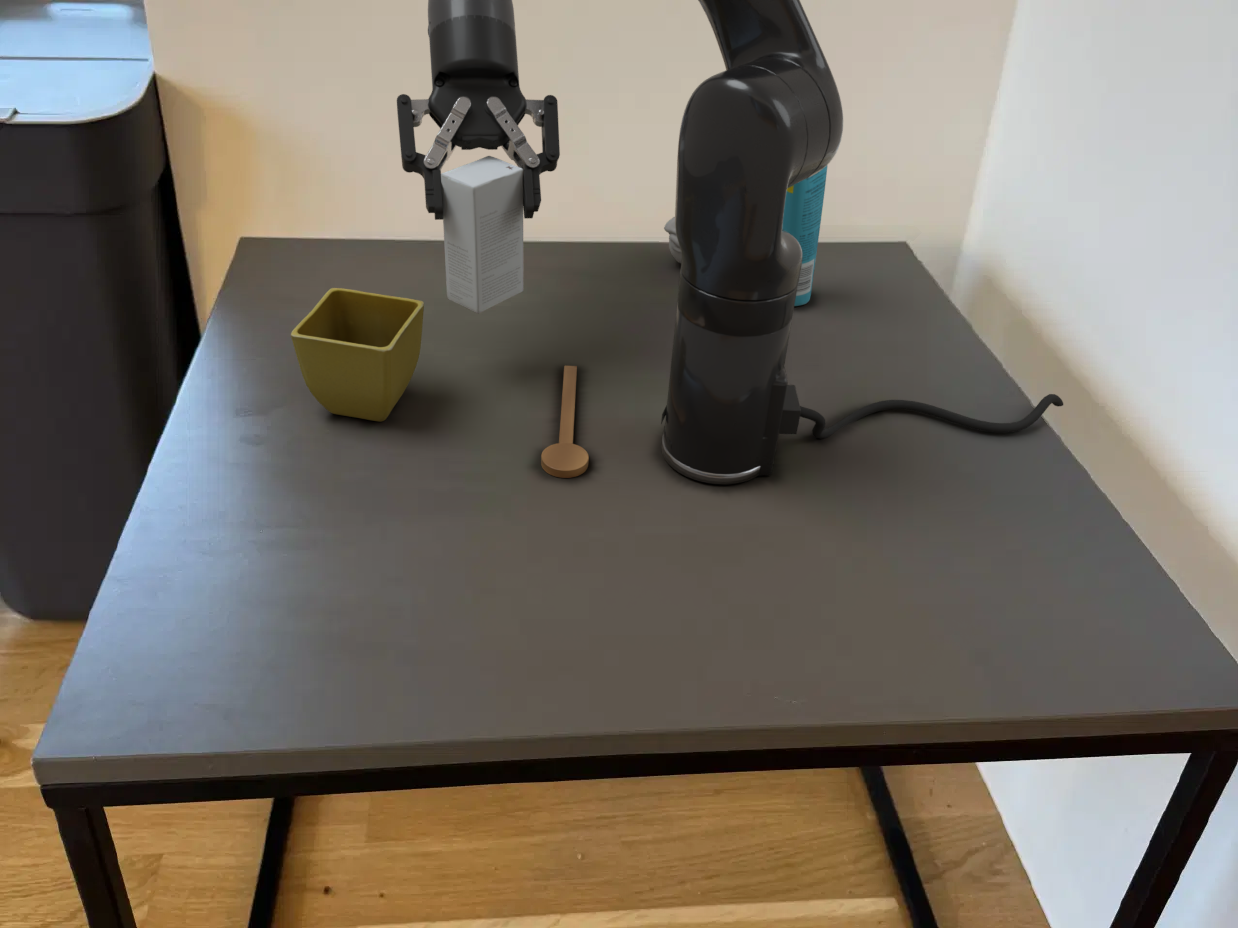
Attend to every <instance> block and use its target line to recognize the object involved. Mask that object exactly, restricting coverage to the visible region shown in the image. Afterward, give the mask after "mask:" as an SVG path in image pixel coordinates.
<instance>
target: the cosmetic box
mask: <svg viewBox="0 0 1238 928" xmlns="http://www.w3.org/2000/svg"><path fill="white" fill-rule="evenodd" d="M441 183H442V198H443V220H442V223H443V225H442V226H443V244H444V245H443V246H444V264H445V266H444V267H445V282H446V283H445V284H446V299H448V300H449V301H451V302H453V303H455V304H457V305H459V306H462V307H463V308H466V309H468V310H469V311H471V312H473V313H476V314H478V315H479V314H481V313H483V312H485V311H486V310H489V309H490V308H491V309H492V308H493V307H495V306H497V305H499V304H501V303H504V302H505V301H507V300H509V299H512V298H513V297H515V296H517V295H519V294H521V293H523V292H524V279H525V278H524V209H523V169H522V168H520V167H518V166H517V165H516V164H513V163H509V162H507V161H506V160H502V159H500V158H498V157H495V156H491V155H486V156H485V157H482V158H479V159H477V160H474V161H471V162H469V163H466V164H463V165H461V166H460V165H459V166H458V167H455V168H452V169H450V170H447V171H445V172H441Z"/></svg>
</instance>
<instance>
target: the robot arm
mask: <svg viewBox="0 0 1238 928" xmlns="http://www.w3.org/2000/svg"><path fill="white" fill-rule="evenodd" d="M697 1H698V2H699V5H700V6H701V8H702V11H703V12H704V14H705V15H706V18H707V21H708V23H709V25H710V28H711V30H712V32H713V35H714V38H715V40H716V43H717V46H718V49H719V51H720V54H721V57H722V60H723V64H724V67H725V70H724V71H721V72H719V73H716V74H713V75H711V76H709V77H708V78H706V79H704V80H703V81H702V82H701V83H700V84H699V85H698V86H696V88H695V89H694V91H692V93H691V95H690V97H689V99H688V101H687V103H686V105H685V108H684V111H683V115H682V118H681V122H680V127H679V134H678V142H677V143H678V144H677V155H676V157H677V158H676V159H677V160H676V177H675V178H676V180H675V181H676V182H675V206H674V217H675V228H676V235H677V239H678V242H679V245H680V249H681V252H682V261H681V263H680V272H679V281H678V291H677V301H676V302H677V303H676V310H675V320H674V321H675V322H674V331H673V341H672V349H671V350H672V351H671V359H670V371H669V381H668V390H667V401H666V405H665V407H664V409H663V411H662V414H661V423H660V425H663V422H664V426H663V433H662V438H661V453H662V456H663V458H664V460H665V461H666V463H667V464H668V465H669V466H670V467H671V469H674V471H676V472H677V473H679V474H681V475H683V476H684V477H687V478H689V479H691V480H695V481H698V482H701V483H706V484H713V485H735V484H740V483H744V482H748V481H751V480H753V479H755V478H757V477H758V476H771V475H772V474H773V468H774V461H775V457H776V450H777V446H778V439H779V435H798V429H799V424H800V419H801V418H804V419H806V420H810V421H812V422H814V425H813V427H812V431H811V434H812V437H814V438H816V439H820V440H824V439H826V438H828V437H830V436H831V435H833V434H834V433H835V432H837V431H838V430H839V429H841V428H844V427H845V426H847V425H850V424H852V423H854V422H856V421H859V420H861V419H864V418H865V417H866V416H869V415H871V414H874V413H877V412H881V411H886V410H905V411H911V412H918V413H922V414H924V415H925V414H926V415H929V416H933V417H934V418H939V419H942V420H944V421H947V422H950V423H953V424H957V425H959V426H963V427H965V428H970V429H974V430H977V431H982V432H989V433H997V434H1008V433H1009V434H1010V433H1015V432H1021V431H1022V430H1025V429H1027V428H1028V427H1030V426H1031V425H1033V424H1034V423H1036V422H1037V421H1038V420H1039V419H1040V418H1041V417H1042V415H1043V414H1044V413H1045V412H1046V410H1047V409H1048V408H1049V407H1050V406H1051V404H1052V405H1053V406H1055V407H1063V406H1064V401H1063V399H1062V397H1060V396H1059V395H1058V394H1055V393H1048V394H1047V395H1045V396H1044V397H1043V398H1041V400H1040V401H1039V402H1038V403H1037V405H1036V406H1035V407H1034V408H1033V410H1032V411H1030V413H1028V414H1027V415H1026V416H1025V417H1024V418H1022V419H1020V420H1018V421H1013V422H991V421H985V420H980V419H976V418H972V417H969V416H966V415H964V414H963V415H962V414H959V413H956V412H953V411H951V410H947V409H945V408H941V407H938V406H935V405H933V404H928V403H924V402H919V401H915V400H907V399H887V400H879V401H876V402H873V403H870V404H866V405H865V406H862V407H860V408H858V409H857V410H854V411H853V412H852V413H850V414H848V415H847V416H845V417H844V418H842V419H841V420H839V421H837V422H836V423H834V424H833V425H831V426H829V427H826V423H827V422H826V418H825V417H824V415H822V414H821V413H820V412H818V411H816V410H814V409H811V408H809V407H808V408H807V407H804V406H802V405H800V401H799V396H798V393H797V388H796V385H795V384H788V383H789V382H788V377H787V371H786V366H785V364H786V357H787V351H788V346H789V341H790V340H789V339H790V334H791V328H792V327H791V326H792V321H793V316H794V311H795V306H794V305H795V299H796V293H797V287H798V283H799V278H800V272H801V266H802V249H801V246H800V244H799V242H798V241H797V240H796V238H795V237H794V236H792V235H791V234H790V233H788V232H787V231H785V230H783V229H782V226H783V216H784V207H785V199H786V192H787V188H789V187H791V186H793V185H795V184H797V183H799V182H801V181H803V180H805V179H807V178H809V177H811V176H813V175H815V174H816V173H818V172H819V171H821V170H822V169H823V168H825V167H826V166H827V165H829V164H830V163H831V162H832V160H834V158H835V156H836V154H837V152H838V150H839V147H840V145H841V142H842V138H843V132H844V111H843V104H842V100H841V96H840V93H839V88H838V86H837V83H836V80H835V77H834V75H833V72H832V70H831V68H830V66H829V65H830V64H829V63H828V61H827V59H826V56H825V54H824V51H823V49H822V47H821V45H820V43H819V40H818V38H817V36H816V34H815V31H814V29H813V27H812V25H811V22H810V21H809V18H808V16H807V14H806V11H805V9H804V7H803V5H802V2H801V0H697ZM514 9H515V8H514V4H513V0H428V1H427V22H428V23H427V35H428V39H429V53H430V54H429V55H430V56H429V57H430V71H431V72H430V73H431V88H432V89H431V93H430V95H429V96H428V98H422V99H411V97H410V95H408V94H405V93H401V94H398V96H397V98H396V111H397V114H396V115H397V124H398V135H399V145H400V146H399V147H400V157H401V168H402V169H403V171H404V172H406V173H409V174H410V173H416V174H418V175H420V176H421V177H422V178H423V181H424V196H425V197H424V198H425V208H426V210H427V213H428V214H434V220H435V221H437V220H442V221H443V198H442V183H441V174H442V169H443V167H444V166H445V164H446V162H447V161H448V160H449V159H450V158H451V156H452V154H453V152H454V151H455V149H456V148H457V147H459V148H460V149H461V151H471V150H476V149H478V148H479V149H484V150H488V151H489V150H491V151H493V150H494V151H496V150H498V148H499V147H501V148H502V150H503V151H504V152H505V154H506V155H507V157H508V158H509V159H510V160H511V161H513V162H514V163H515V165H516V166H517V167H520V168H522V169H523V219H533V218H534V215H535V213H537V212H539V210H540V206H541V204H542V193H541V192H542V190H541V180H540V179H541V177H540V175H541V174H544V173H545V172H554V171H555V170H556V169H557V166H558V161H559V159H560V156H561V149H560V130H559V129H560V128H559V106H558V103H559V102H558V99H557V97H556V96H554V95H552V94H547V95H545V97H544V98H543V99H526V97H525V95H524V94H523V92H522V89H521V87H520V76H519V75H520V74H519V61H518V60H519V59H518V47H517V36H516V33H517V32H516V19H515V10H514ZM426 115H428V116H429V117H430V118H431V119H432V121H433V122H434V123H435V124H436V125H437V126H438V127H439V130H438V133H437V134H436V136H435V139H434V141H433V143H432V144H431V146H430V148H429V149H428V151H427V153H426V154H424V153H420V152H417V148H416V139H415V138H416V137H415V128H418V127H420V126H421V125H422V122H423V118H424V117H425V116H426ZM526 115H528V116H530V117H531V119H532V122H533V124H534V125H535V126H536V127H539V128H541V150H542V151H541V152H539V153H536V152H535V150H534V149H533V148H532V146H531V145H530V144H529V142H528V141H527V137H526V136H525V134H524V132H523V130H521V128H520V127H519V124H520V123H521V122H522V120H523V119H524V118H525V117H526ZM827 167H828V166H827ZM664 420H665V421H664ZM825 427H826V428H825Z"/></svg>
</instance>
